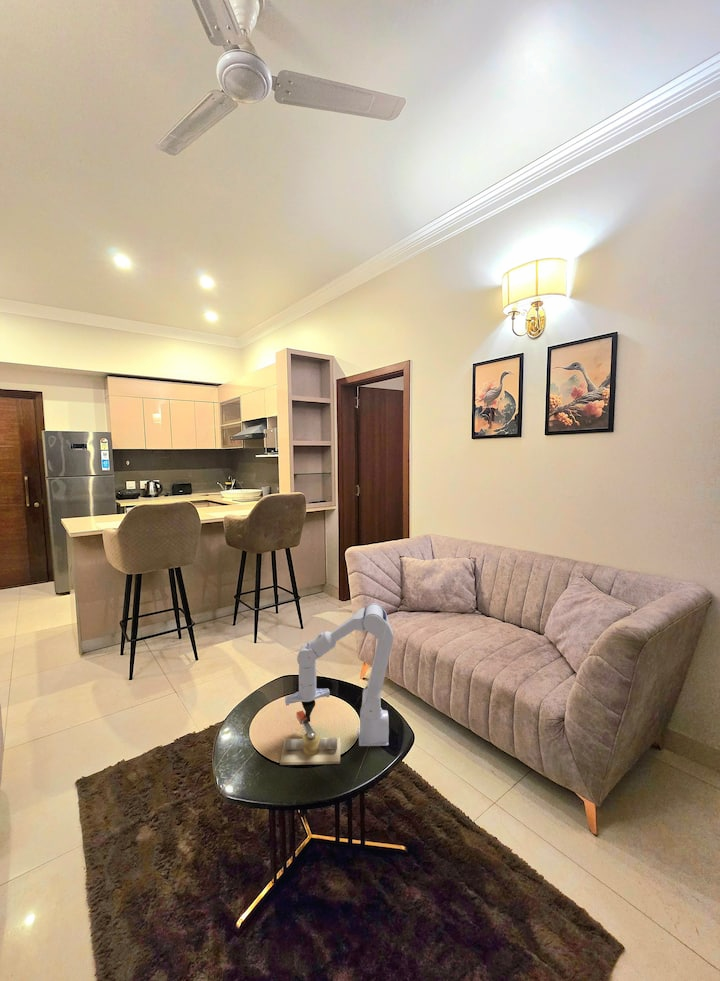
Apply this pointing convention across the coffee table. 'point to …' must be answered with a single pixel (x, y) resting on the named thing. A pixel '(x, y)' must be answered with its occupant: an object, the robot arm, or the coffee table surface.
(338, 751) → the valve fixture
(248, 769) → the coffee table surface
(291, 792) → the coffee table surface
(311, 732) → the valve lever
